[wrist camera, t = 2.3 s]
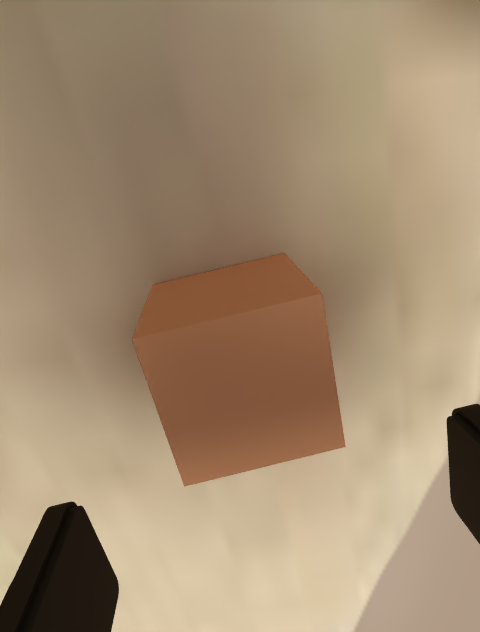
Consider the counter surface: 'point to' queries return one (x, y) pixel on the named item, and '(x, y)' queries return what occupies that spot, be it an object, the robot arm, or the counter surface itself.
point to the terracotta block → (240, 368)
